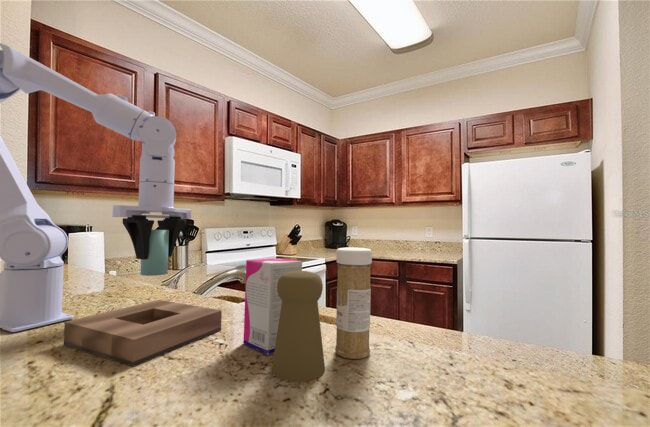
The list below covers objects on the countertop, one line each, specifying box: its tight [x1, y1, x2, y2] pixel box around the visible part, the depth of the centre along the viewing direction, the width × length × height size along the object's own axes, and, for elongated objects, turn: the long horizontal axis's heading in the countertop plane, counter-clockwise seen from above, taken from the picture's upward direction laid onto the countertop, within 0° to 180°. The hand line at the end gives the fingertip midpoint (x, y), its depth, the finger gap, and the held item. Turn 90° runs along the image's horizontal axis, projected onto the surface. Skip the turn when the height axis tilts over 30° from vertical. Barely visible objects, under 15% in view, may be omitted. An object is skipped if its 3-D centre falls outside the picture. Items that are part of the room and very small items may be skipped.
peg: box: [139, 229, 169, 277], centre depth 59 cm, size 4×4×8 cm
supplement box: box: [242, 257, 303, 356], centre depth 44 cm, size 6×6×12 cm
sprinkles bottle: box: [334, 246, 373, 360], centre depth 41 cm, size 5×5×13 cm
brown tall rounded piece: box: [271, 270, 326, 383], centre depth 37 cm, size 6×6×11 cm
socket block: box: [63, 299, 223, 367], centre depth 46 cm, size 14×14×3 cm
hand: (154, 257), depth 59 cm, fingers closed on peg, 4 cm apart
